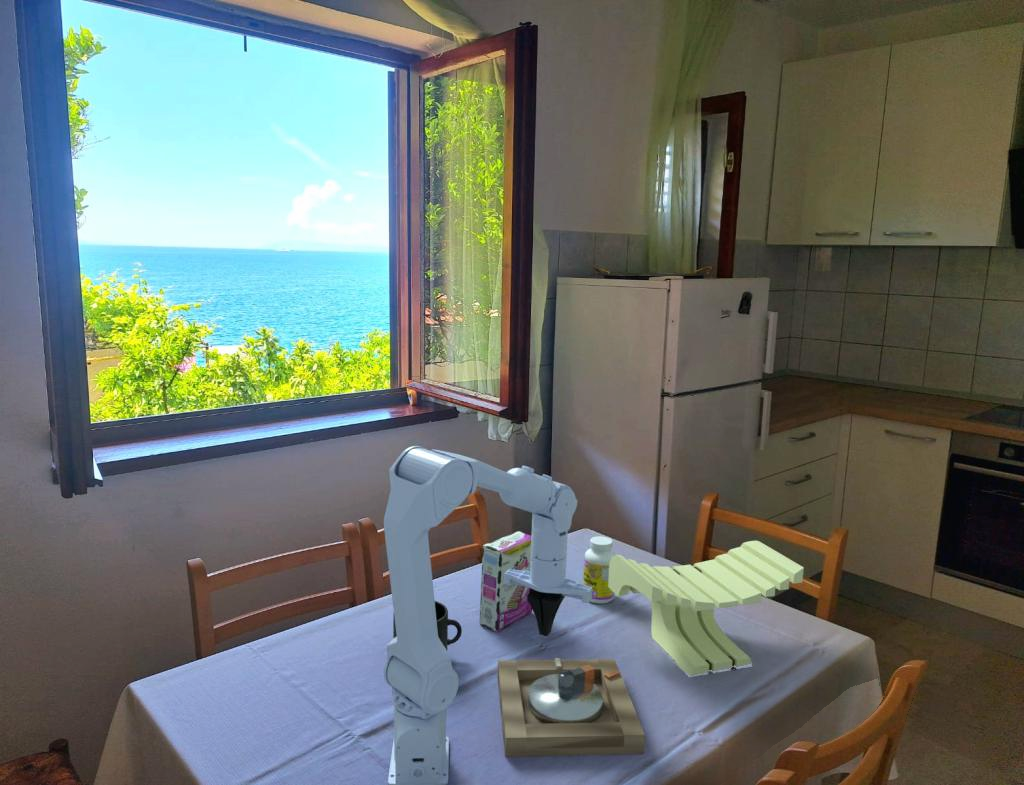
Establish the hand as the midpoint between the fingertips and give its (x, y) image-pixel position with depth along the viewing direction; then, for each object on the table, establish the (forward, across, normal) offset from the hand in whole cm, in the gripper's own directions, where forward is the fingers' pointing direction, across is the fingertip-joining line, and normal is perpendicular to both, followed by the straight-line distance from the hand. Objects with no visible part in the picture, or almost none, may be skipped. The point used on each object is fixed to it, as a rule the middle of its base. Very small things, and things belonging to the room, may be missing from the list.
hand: (545, 632), depth 116 cm
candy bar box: (+10, +15, -18) cm, 26 cm away
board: (+10, -6, +4) cm, 12 cm away
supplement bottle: (+10, +2, -36) cm, 37 cm away
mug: (+10, +22, +1) cm, 24 cm away
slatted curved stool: (+10, -21, -25) cm, 34 cm away
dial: (+9, -6, +4) cm, 11 cm away
